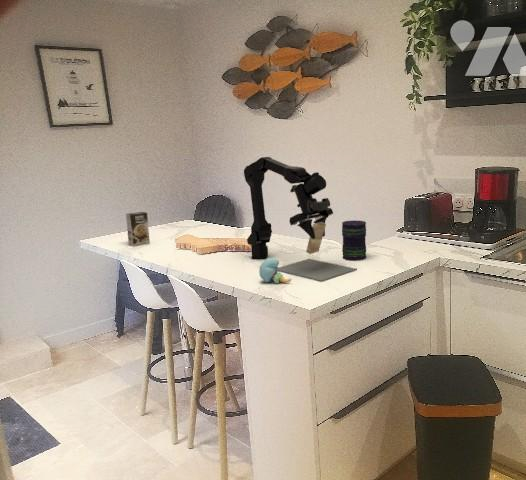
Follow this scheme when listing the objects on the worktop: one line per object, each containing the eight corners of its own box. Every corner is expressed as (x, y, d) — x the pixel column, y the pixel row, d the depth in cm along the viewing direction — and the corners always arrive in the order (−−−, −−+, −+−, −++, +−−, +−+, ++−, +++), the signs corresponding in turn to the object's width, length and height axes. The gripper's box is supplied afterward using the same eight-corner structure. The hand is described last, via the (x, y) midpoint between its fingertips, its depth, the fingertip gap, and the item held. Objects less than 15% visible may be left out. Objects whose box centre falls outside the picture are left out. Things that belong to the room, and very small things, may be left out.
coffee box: (133, 246, 255) (130, 214, 252) (128, 244, 260) (125, 213, 257) (150, 243, 261) (147, 212, 257) (144, 241, 266) (141, 211, 262)
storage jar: (347, 254, 219) (347, 219, 215) (369, 256, 214) (369, 221, 211) (338, 259, 210) (338, 224, 207) (361, 261, 205) (361, 225, 202)
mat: (273, 270, 199) (273, 268, 199) (309, 259, 212) (309, 258, 212) (321, 281, 181) (321, 280, 181) (356, 270, 194) (356, 268, 194)
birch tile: (306, 251, 195) (313, 223, 189) (315, 249, 198) (322, 221, 193) (309, 254, 194) (316, 226, 188) (318, 251, 197) (326, 224, 191)
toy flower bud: (286, 264, 175) (256, 258, 181) (286, 288, 178) (256, 282, 183) (295, 259, 182) (265, 254, 187) (294, 282, 184) (265, 277, 189)
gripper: (301, 194, 182) (316, 235, 180) (336, 188, 194) (350, 227, 192) (282, 205, 190) (296, 244, 188) (316, 198, 202) (329, 235, 200)
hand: (319, 237), depth 192 cm, fingers closed on birch tile, 5 cm apart
